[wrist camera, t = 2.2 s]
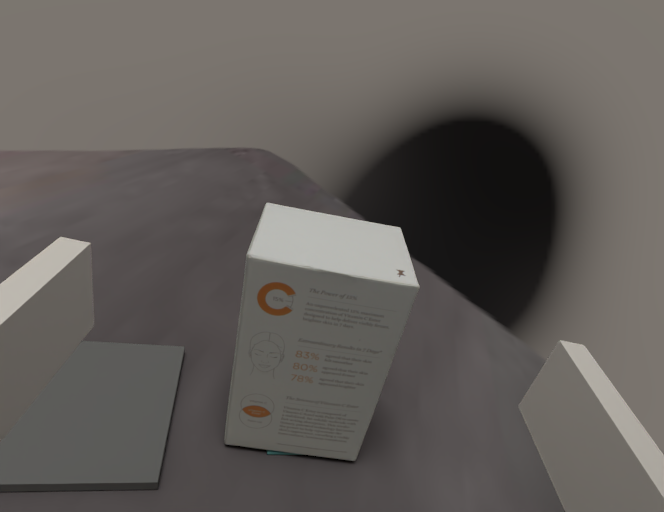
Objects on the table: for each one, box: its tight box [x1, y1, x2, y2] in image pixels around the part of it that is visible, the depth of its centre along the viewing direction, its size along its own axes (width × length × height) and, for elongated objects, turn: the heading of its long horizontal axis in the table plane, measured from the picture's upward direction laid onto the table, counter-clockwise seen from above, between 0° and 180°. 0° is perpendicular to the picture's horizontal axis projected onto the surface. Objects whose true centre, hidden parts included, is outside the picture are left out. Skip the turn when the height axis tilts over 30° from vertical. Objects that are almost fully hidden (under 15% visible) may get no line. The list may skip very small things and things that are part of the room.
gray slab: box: [0, 341, 185, 492], centre depth 26 cm, size 10×10×1 cm
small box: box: [224, 203, 420, 461], centre depth 25 cm, size 8×6×13 cm
